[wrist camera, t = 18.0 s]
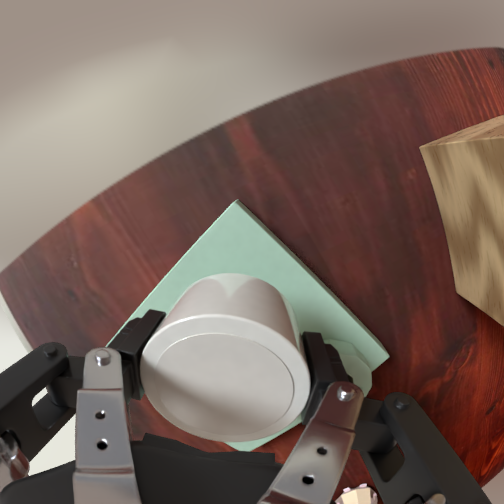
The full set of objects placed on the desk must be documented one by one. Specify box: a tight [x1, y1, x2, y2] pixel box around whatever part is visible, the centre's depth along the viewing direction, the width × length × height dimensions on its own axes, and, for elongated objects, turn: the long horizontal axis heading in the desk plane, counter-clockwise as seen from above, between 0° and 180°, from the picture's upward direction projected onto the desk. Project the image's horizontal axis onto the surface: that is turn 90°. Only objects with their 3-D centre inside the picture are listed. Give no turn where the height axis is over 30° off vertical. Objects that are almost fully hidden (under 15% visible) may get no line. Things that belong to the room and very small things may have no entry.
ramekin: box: [140, 273, 311, 442], centre depth 11 cm, size 6×6×4 cm
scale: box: [106, 199, 389, 451], centre depth 17 cm, size 14×14×4 cm
